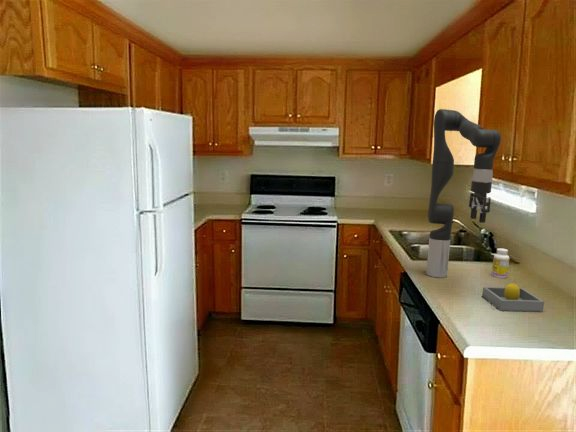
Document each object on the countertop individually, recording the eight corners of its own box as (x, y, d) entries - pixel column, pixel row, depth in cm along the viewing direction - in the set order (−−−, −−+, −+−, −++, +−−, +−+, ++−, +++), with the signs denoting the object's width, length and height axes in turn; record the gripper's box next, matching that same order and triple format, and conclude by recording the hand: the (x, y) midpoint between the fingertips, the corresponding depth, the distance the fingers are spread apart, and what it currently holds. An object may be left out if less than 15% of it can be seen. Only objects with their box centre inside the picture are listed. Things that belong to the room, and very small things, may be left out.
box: (482, 296, 195) (483, 286, 195) (521, 297, 196) (522, 288, 195) (500, 310, 180) (501, 300, 179) (542, 311, 180) (544, 301, 180)
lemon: (521, 303, 188) (523, 283, 187) (515, 306, 184) (517, 286, 183) (506, 299, 192) (508, 279, 191) (500, 302, 188) (502, 282, 187)
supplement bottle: (490, 273, 230) (493, 247, 227) (504, 274, 229) (507, 248, 226) (493, 277, 223) (496, 250, 221) (508, 278, 222) (512, 251, 220)
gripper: (465, 178, 199) (461, 217, 202) (480, 181, 185) (475, 223, 188) (483, 179, 200) (479, 217, 202) (499, 182, 186) (494, 224, 188)
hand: (477, 220), depth 195 cm, fingers open, 8 cm apart
